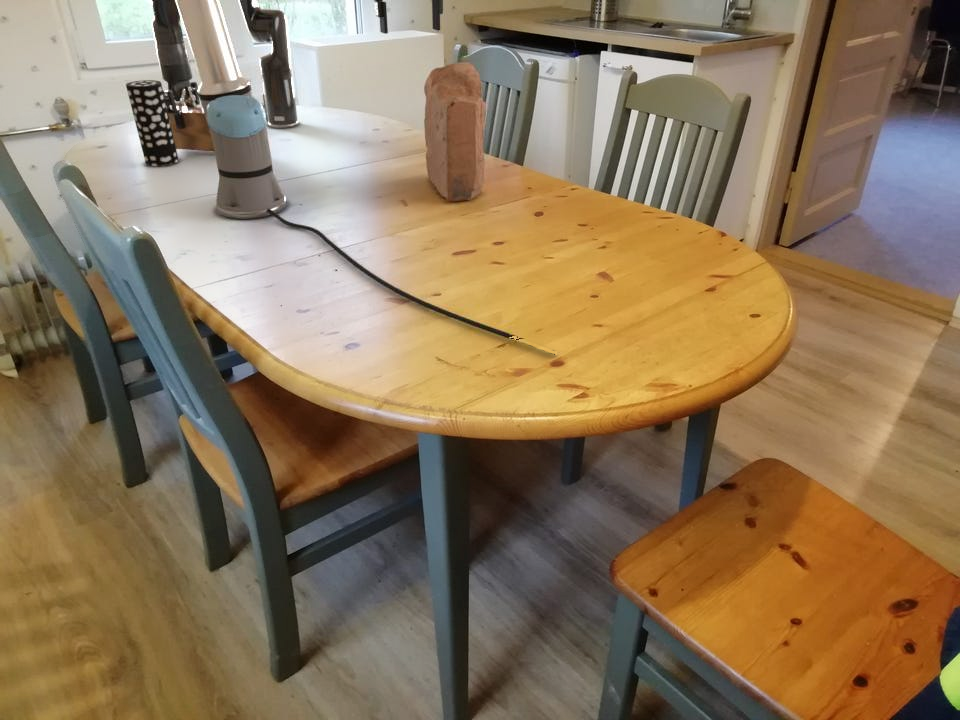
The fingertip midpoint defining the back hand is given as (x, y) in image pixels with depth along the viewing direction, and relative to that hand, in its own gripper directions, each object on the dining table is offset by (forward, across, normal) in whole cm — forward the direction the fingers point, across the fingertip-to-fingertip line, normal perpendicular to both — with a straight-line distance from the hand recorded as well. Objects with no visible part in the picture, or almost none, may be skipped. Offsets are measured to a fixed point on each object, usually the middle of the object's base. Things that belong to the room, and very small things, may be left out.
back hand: (187, 125), depth 192 cm
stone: (+7, +14, +80) cm, 81 cm away
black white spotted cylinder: (-3, +12, -2) cm, 12 cm away
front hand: (-27, +3, +66) cm, 72 cm away
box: (+6, 0, +8) cm, 10 cm away
